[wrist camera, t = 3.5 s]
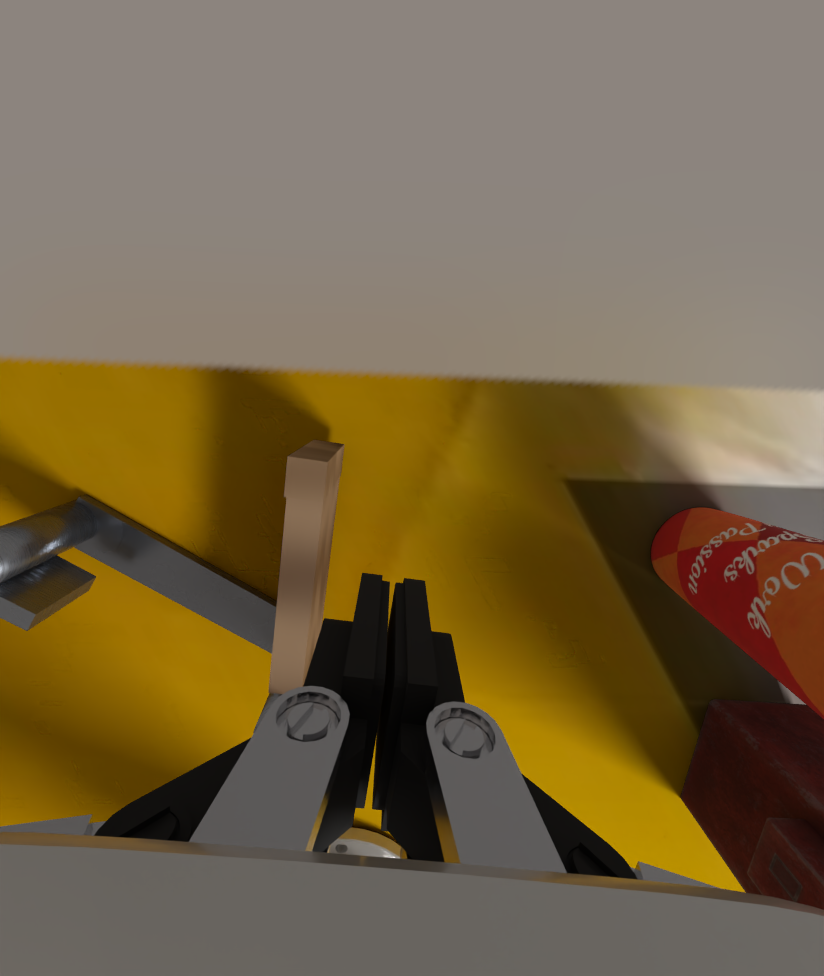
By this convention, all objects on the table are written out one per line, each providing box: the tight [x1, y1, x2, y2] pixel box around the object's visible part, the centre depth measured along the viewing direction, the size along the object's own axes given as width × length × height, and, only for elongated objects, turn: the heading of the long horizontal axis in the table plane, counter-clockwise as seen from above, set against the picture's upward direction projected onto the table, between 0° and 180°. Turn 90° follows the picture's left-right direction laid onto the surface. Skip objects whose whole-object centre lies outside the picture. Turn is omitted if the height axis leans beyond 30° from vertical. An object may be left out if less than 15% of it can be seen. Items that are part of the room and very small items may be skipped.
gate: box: [269, 440, 344, 694], centre depth 22 cm, size 12×2×6 cm, turn 171°
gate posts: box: [0, 495, 282, 733], centre depth 23 cm, size 18×4×8 cm, turn 56°
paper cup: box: [651, 507, 824, 719], centre depth 20 cm, size 8×8×14 cm
